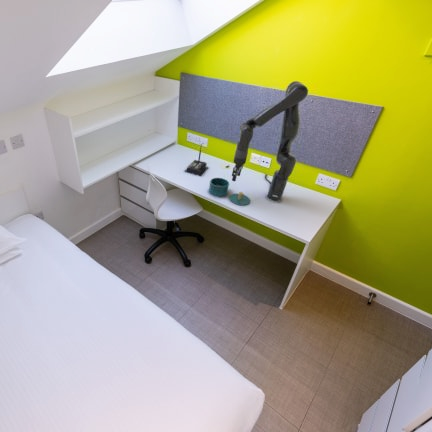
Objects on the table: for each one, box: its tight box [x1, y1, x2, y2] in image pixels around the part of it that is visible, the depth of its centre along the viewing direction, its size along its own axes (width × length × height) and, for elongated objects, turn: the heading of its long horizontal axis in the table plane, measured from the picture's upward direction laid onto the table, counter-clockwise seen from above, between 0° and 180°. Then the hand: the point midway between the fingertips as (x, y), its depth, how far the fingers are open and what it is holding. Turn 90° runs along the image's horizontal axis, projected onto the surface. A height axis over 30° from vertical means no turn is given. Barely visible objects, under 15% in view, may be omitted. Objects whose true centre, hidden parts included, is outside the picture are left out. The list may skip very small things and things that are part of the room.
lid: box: [228, 191, 251, 207], centre depth 199 cm, size 14×14×6 cm
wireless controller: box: [184, 143, 209, 177], centre depth 231 cm, size 20×14×17 cm
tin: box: [208, 177, 230, 198], centre depth 206 cm, size 13×13×8 cm
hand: (235, 178), depth 195 cm, fingers open, 8 cm apart
